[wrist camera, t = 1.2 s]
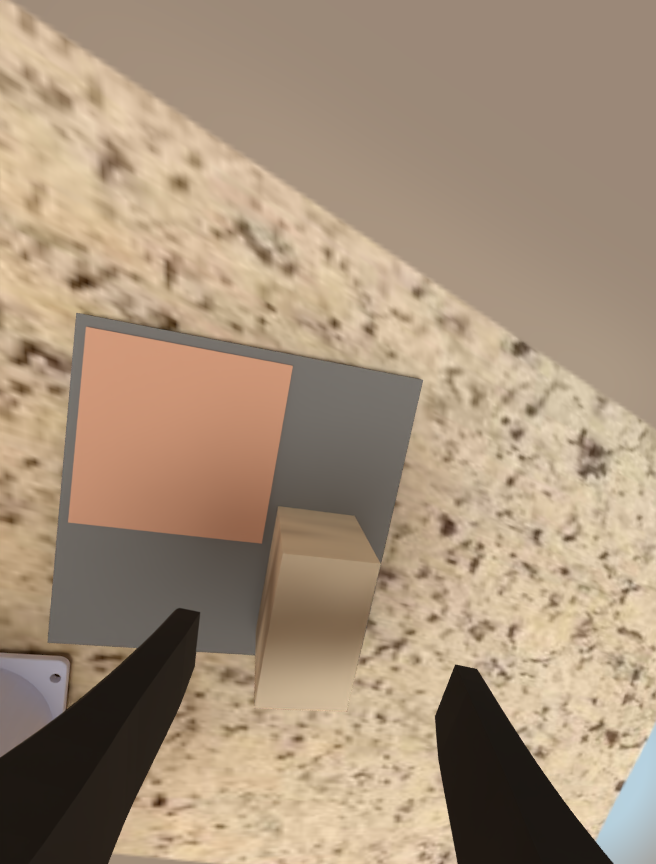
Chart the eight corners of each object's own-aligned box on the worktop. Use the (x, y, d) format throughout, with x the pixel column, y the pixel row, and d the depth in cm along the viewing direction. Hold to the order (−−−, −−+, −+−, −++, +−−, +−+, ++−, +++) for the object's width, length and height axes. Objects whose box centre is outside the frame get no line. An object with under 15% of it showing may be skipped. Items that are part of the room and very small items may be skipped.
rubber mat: (356, 656, 24) (359, 664, 24) (51, 637, 21) (45, 645, 21) (420, 379, 22) (424, 380, 21) (80, 313, 19) (74, 312, 18)
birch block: (329, 635, 23) (346, 711, 18) (255, 630, 22) (254, 708, 18) (354, 515, 22) (380, 563, 17) (278, 506, 21) (282, 553, 16)
